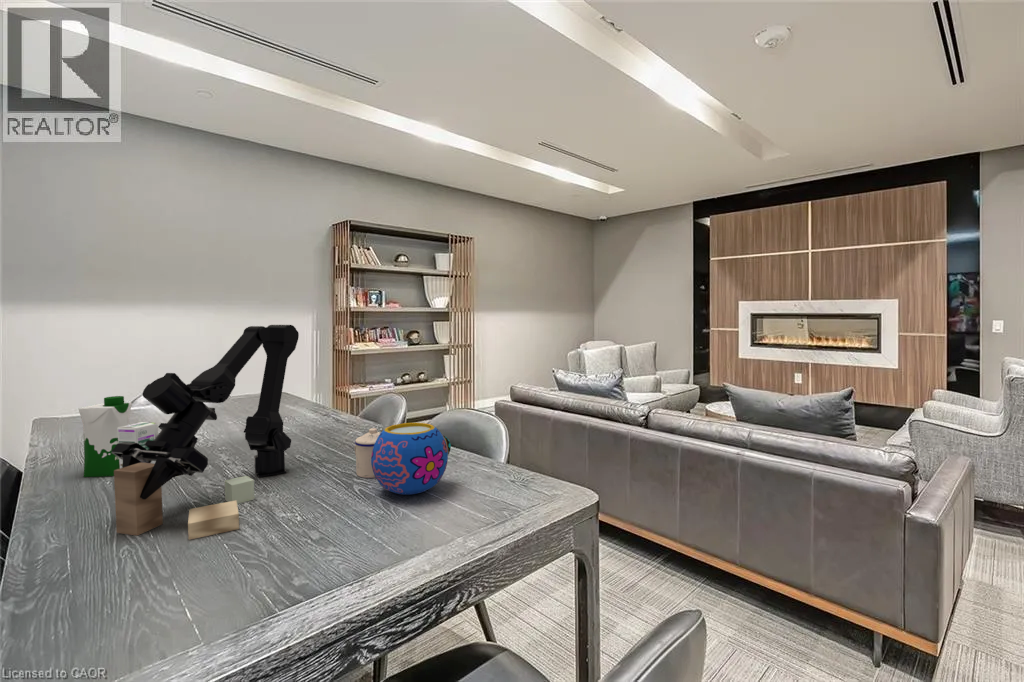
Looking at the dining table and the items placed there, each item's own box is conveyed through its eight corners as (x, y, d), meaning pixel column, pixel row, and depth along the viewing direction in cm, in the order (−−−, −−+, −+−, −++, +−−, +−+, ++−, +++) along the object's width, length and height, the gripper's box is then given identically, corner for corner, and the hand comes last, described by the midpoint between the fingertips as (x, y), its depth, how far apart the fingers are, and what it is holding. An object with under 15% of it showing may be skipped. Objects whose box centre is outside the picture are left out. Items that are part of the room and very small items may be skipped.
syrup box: (139, 486, 113) (136, 427, 112) (119, 485, 114) (116, 426, 113) (161, 478, 119) (159, 422, 118) (142, 477, 120) (139, 421, 119)
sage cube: (247, 494, 108) (246, 475, 108) (254, 499, 105) (254, 480, 105) (225, 500, 104) (224, 480, 104) (232, 505, 101) (231, 485, 101)
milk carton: (114, 477, 120) (110, 399, 119) (76, 478, 119) (72, 400, 118) (138, 466, 128) (135, 394, 127) (103, 467, 128) (100, 394, 127)
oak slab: (236, 514, 97) (236, 500, 96) (239, 528, 90) (238, 513, 90) (189, 523, 92) (189, 508, 92) (188, 539, 86) (188, 523, 85)
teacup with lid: (398, 471, 124) (398, 427, 123) (370, 481, 116) (369, 434, 116) (370, 463, 131) (369, 422, 130) (341, 472, 123) (340, 428, 123)
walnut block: (143, 521, 93) (140, 462, 93) (162, 524, 92) (160, 464, 92) (116, 532, 89) (113, 470, 88) (137, 535, 87) (134, 472, 87)
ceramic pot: (462, 484, 114) (462, 423, 114) (418, 511, 98) (417, 440, 97) (404, 474, 122) (403, 417, 121) (355, 497, 105) (353, 432, 105)
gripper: (241, 448, 102) (198, 519, 92) (173, 443, 107) (125, 510, 97) (209, 420, 94) (158, 494, 84) (137, 416, 99) (80, 486, 89)
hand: (131, 497), depth 89 cm, fingers closed on walnut block, 5 cm apart
